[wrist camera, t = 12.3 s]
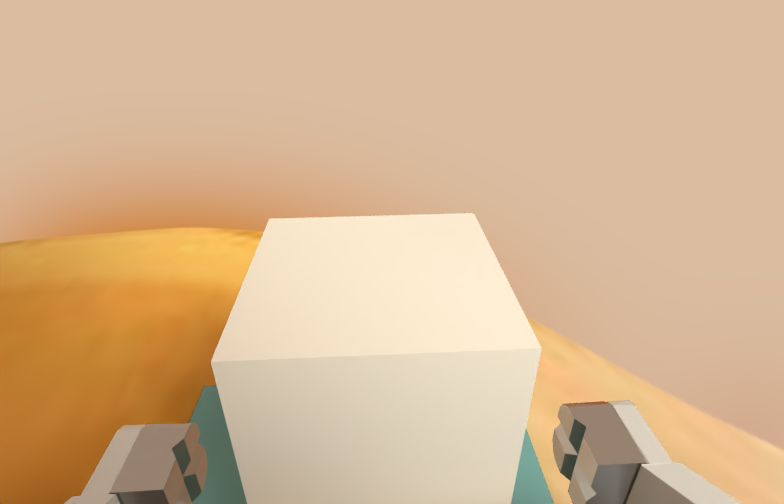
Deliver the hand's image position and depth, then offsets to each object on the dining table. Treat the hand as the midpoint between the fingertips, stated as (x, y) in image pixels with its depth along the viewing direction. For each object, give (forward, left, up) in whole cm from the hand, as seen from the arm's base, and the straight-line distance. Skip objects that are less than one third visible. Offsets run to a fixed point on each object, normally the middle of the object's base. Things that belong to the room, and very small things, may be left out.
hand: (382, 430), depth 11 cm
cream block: (0, +2, -7) cm, 7 cm away
